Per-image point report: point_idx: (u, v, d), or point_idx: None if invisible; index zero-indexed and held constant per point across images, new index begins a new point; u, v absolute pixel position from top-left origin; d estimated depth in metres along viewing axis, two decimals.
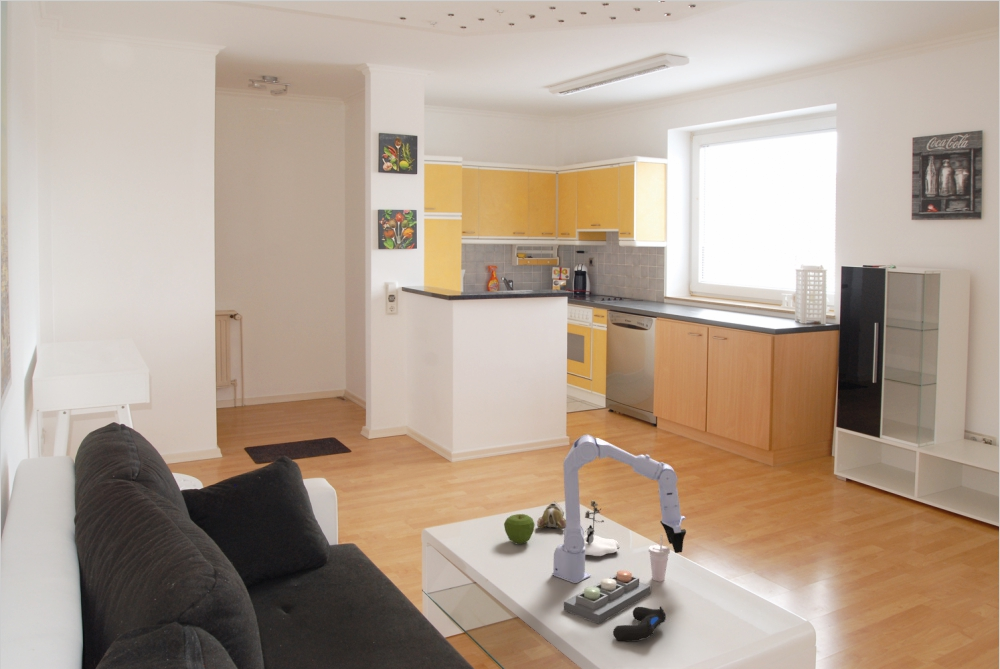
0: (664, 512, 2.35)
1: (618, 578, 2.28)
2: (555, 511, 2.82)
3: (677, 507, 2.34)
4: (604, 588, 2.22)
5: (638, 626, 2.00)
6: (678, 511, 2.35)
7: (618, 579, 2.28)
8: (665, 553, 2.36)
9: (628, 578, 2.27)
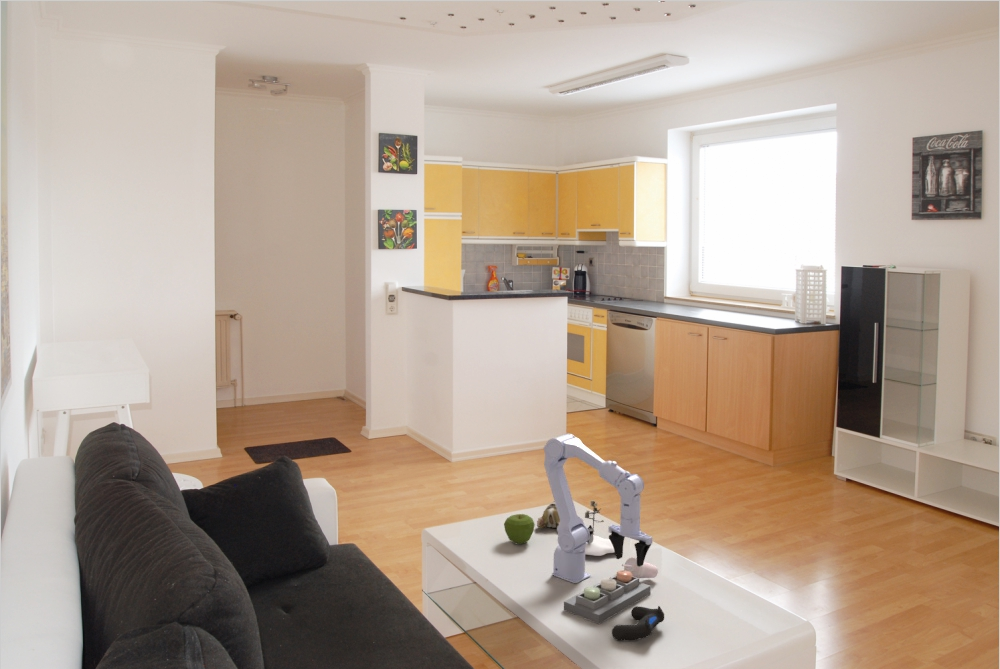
0: (630, 525, 2.25)
1: (618, 578, 2.28)
2: (555, 511, 2.82)
3: None
4: (604, 588, 2.22)
5: (637, 626, 2.00)
6: None
7: (618, 579, 2.28)
8: (640, 569, 2.32)
9: (628, 578, 2.27)
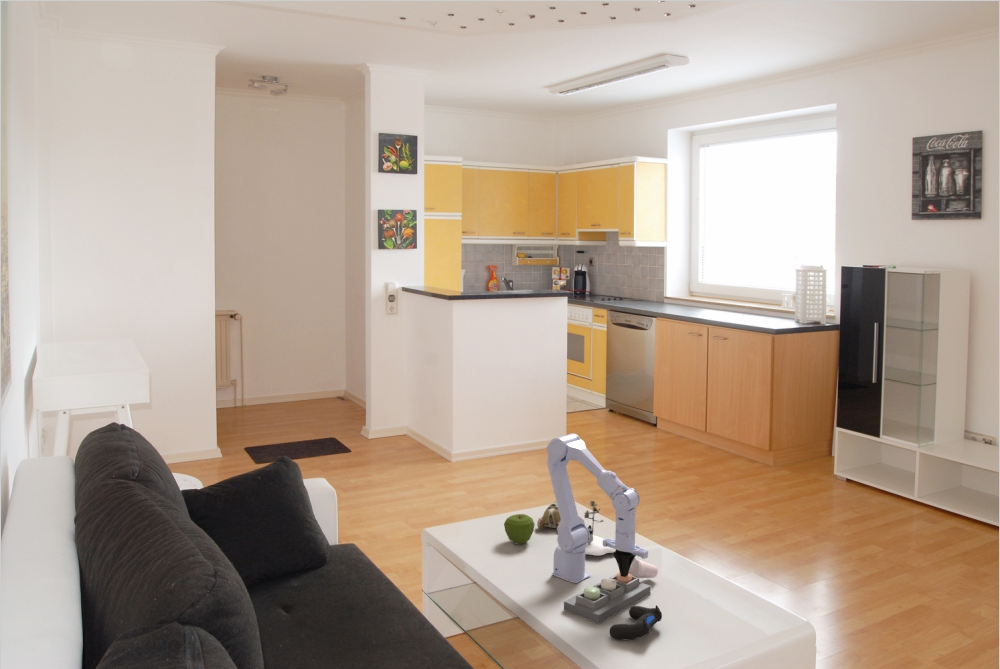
0: (625, 539, 2.25)
1: (618, 580, 2.28)
2: (555, 511, 2.82)
3: None
4: (604, 588, 2.22)
5: (634, 625, 2.00)
6: None
7: None
8: (640, 569, 2.32)
9: (628, 580, 2.27)
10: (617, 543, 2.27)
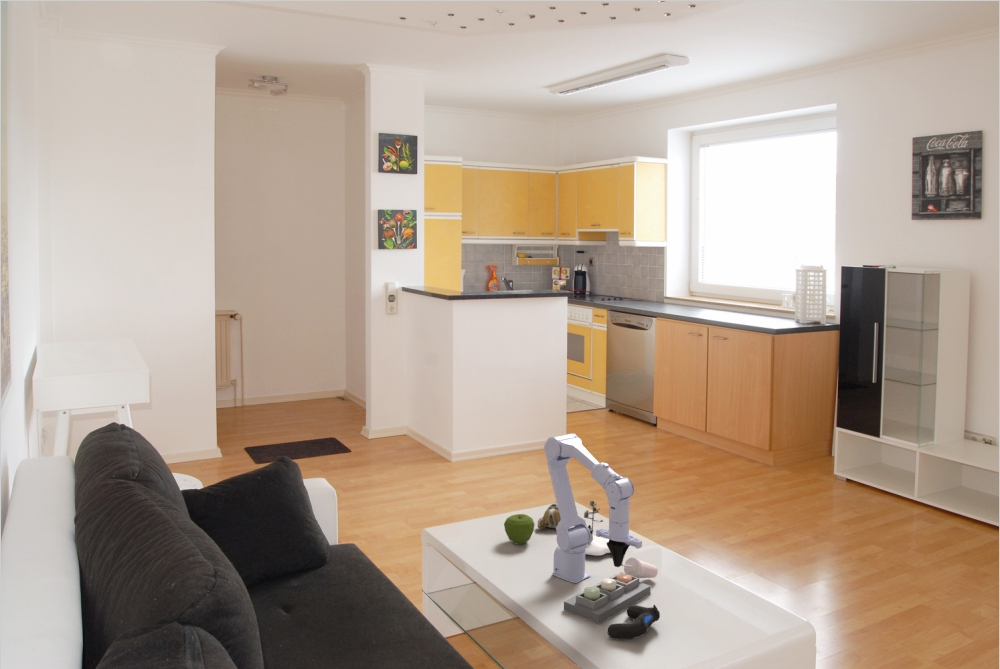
0: (619, 528, 2.22)
1: None
2: (555, 512, 2.82)
3: (628, 522, 2.25)
4: (604, 588, 2.22)
5: (632, 624, 2.01)
6: None
7: None
8: (640, 569, 2.32)
9: (628, 581, 2.27)
10: (611, 533, 2.24)
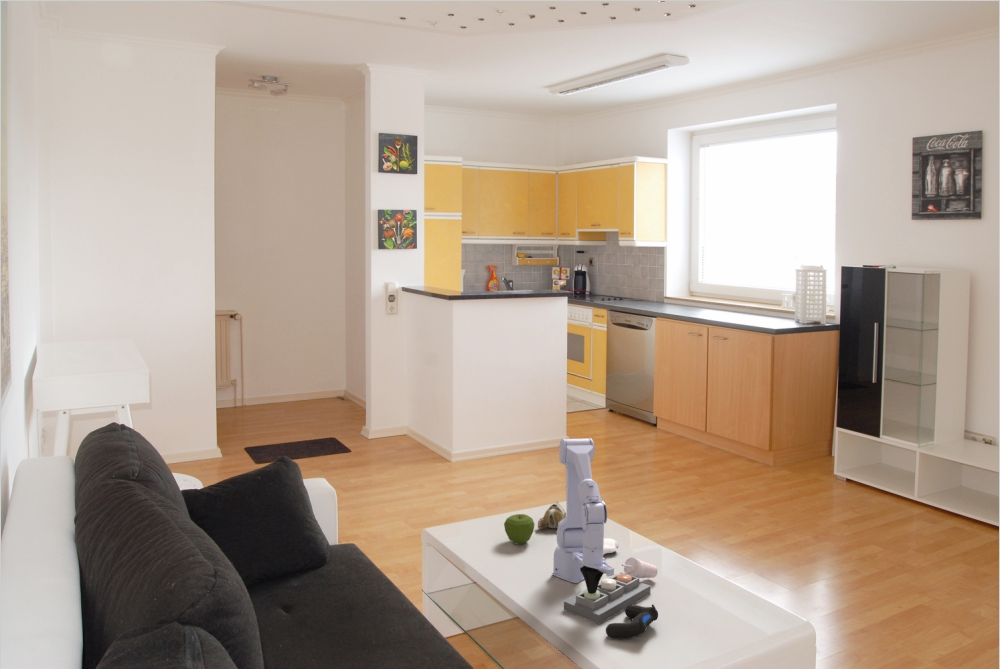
0: (591, 554, 2.13)
1: None
2: (556, 512, 2.82)
3: None
4: (604, 588, 2.22)
5: (630, 624, 2.01)
6: None
7: None
8: (640, 569, 2.32)
9: (628, 581, 2.27)
10: (583, 558, 2.15)
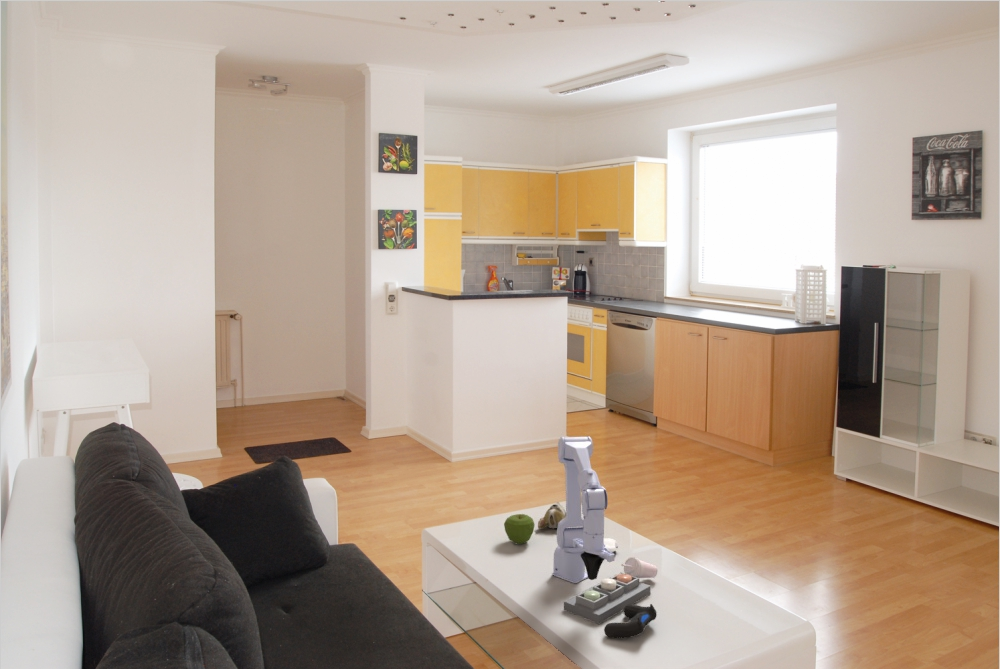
0: (591, 540, 2.13)
1: None
2: (556, 512, 2.81)
3: (603, 533, 2.15)
4: (604, 588, 2.22)
5: (629, 623, 2.01)
6: (603, 538, 2.15)
7: None
8: (640, 568, 2.32)
9: (628, 581, 2.27)
10: (584, 544, 2.15)
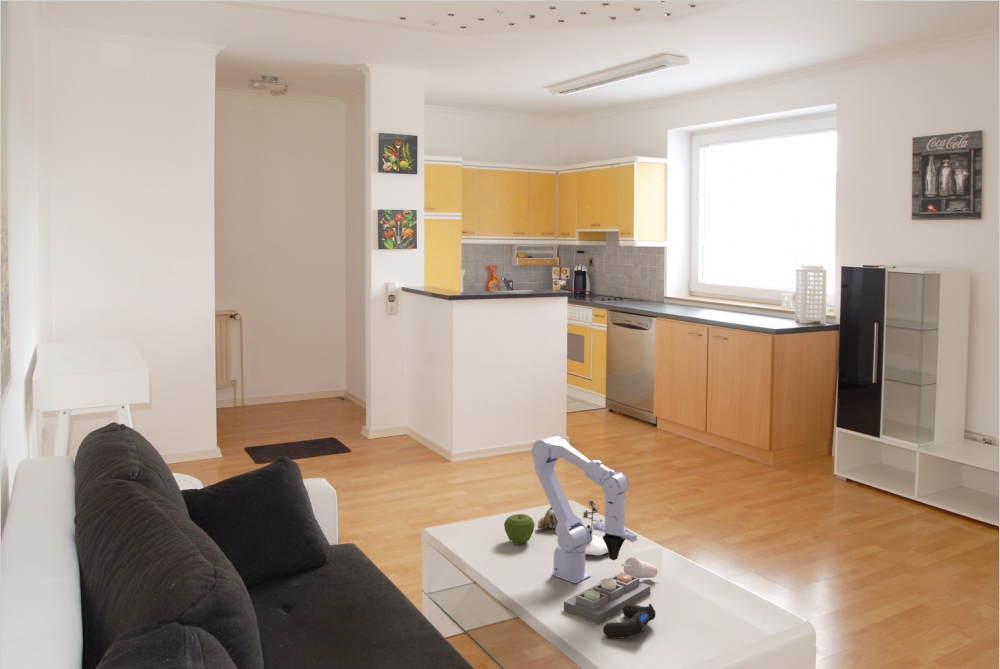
0: (614, 522, 2.27)
1: None
2: None
3: None
4: (604, 588, 2.22)
5: (628, 623, 2.01)
6: None
7: None
8: (639, 568, 2.32)
9: (628, 581, 2.27)
10: (606, 526, 2.29)
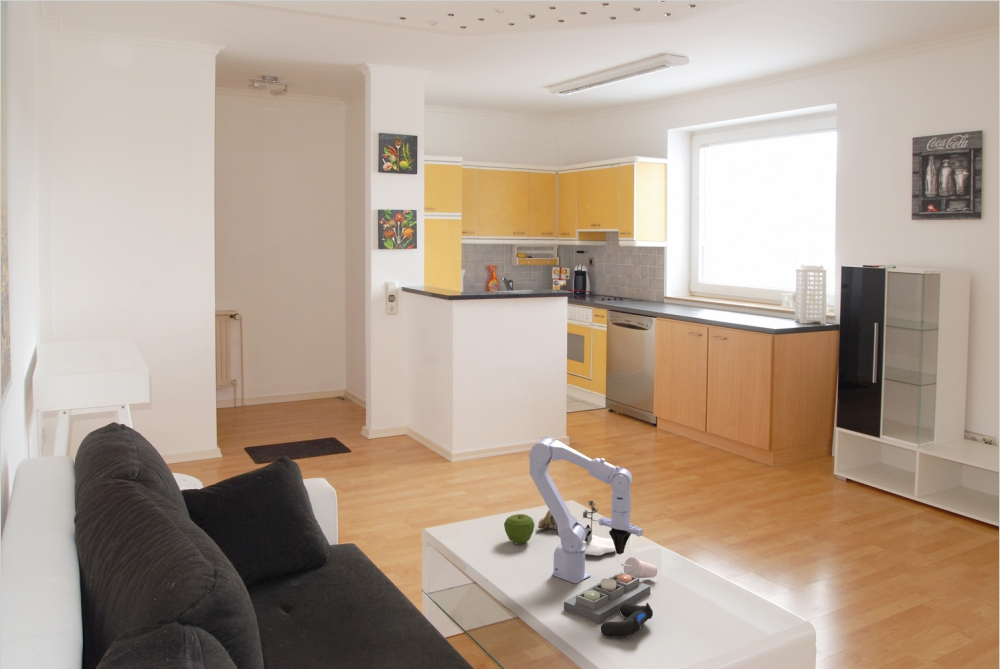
0: (621, 517, 2.32)
1: None
2: None
3: None
4: (604, 588, 2.22)
5: (625, 622, 2.02)
6: None
7: None
8: (639, 568, 2.32)
9: (628, 581, 2.27)
10: (613, 521, 2.33)
